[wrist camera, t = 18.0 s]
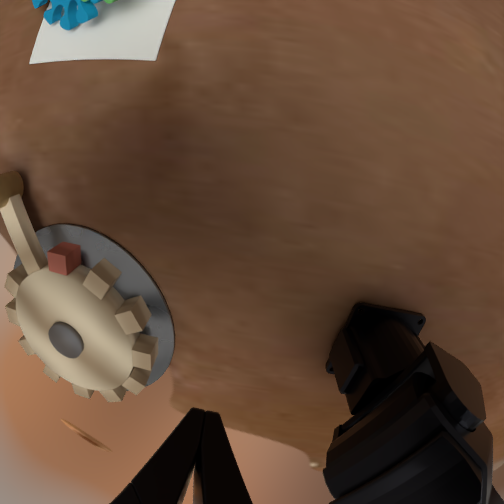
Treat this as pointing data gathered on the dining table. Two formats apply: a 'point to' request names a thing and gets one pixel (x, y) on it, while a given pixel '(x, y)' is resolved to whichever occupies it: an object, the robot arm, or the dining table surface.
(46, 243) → the wheel base
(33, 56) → the mat
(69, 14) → the gear
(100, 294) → the index wheel
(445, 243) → the dining table surface
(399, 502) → the robot arm
